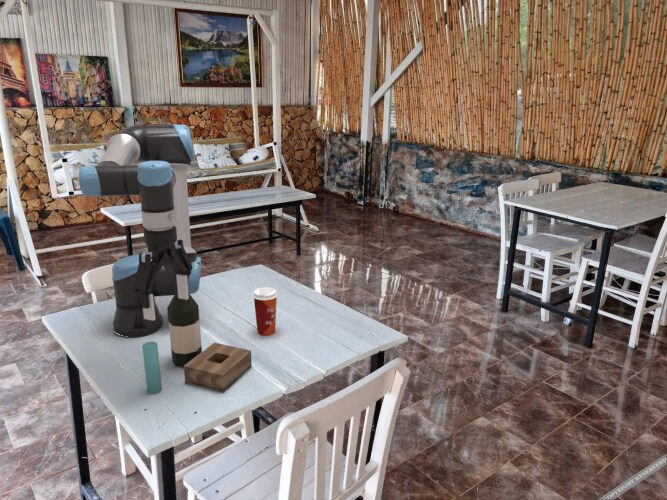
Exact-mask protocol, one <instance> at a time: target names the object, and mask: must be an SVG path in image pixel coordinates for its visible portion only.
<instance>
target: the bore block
mask: <svg viewBox="0 0 667 500" xmlns="http://www.w3.org/2000/svg"><path fill="white" fill-rule="evenodd" d="M252 363H253V362H252V350H250V349H245V348H241V347H237V346H231V345H227V344H224V343H223V344H222V343H219V342H213V343H212V344H211V345H209V346H208V347H206V348H205V349H204V350H202V352H201V353H200V354H199V355H197V356H196V357H195V358H193V359H192V360H191V361H190V362H188V363H187V364H186V365H184V367H183V373H184V382H185V383H186V384H188V385H193V386H196V387H201V388H205V389H209V390H213V391H216V392H220V393H222V394H223V393H225V392H227V390H228V389H229V388H230V387H231V386H232V385H234V384H235V383H236V382H237V381H238V380H239V379H240V378H241V377H242V376H243V375H244V374H245V373H247V371H249V370H250V369H251V367H252Z"/></svg>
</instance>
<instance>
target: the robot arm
mask: <svg viewBox="0 0 667 500" xmlns="http://www.w3.org/2000/svg"><path fill="white" fill-rule="evenodd" d="M195 161H196V156H195V151H194V144H193V140H192V135H191V130H190V128H189V126H187V125H186V124H178V123H177V124H175V123H168V124H167V123H165V124H134V125H130V126H128V127H125V128H122V129H121V130H119V131H117V132H115V133H114V134H113V135H112V136H111V137H110V138H109V139H108V141H107V142H106V150H105V152H104V153H103V155H102V157H101V158H100V160H99V161H98V163H97V164H96V165H94V164H91V165H86V166H85V165H84V166H81V167H80V168H79V172H78V183H79V187H80V191H81V193H82V195H84V196H85V197H97V198H101V197H119V196H121V197H123V196H139V198H140V207H141V211H140V213H141V220H142V227H143V239H144V244H146V246H147V247H148V250H147V252H145V253H144V252H140V253H139V254H133V255H129V256H125V257H123V258H121V259H119V260H117V261H116V262H114V264H113V265H112V267H111V269H112V270H111V272H112V273H111V274H112V277H111V280H112V285H113V291H114V298H115V306H116V309H115V312H114V318H113V322H112V329H113V330H114V331H115V332H116V333H118V334H120V335H123V336H128V337H127V338H141V337H146V336H148V335H151V334H154V333H156V332H158V331H159V330H161V328H162V327H163V325H164V319H163V316H162V314H161V312H160V309H159V308H158V305H157V303H156V298H157V297H166V296H167V297H168V296H174V295H175V285H174V273H173V267H174V268H175V269H176V271H177V272H178V273H180V274H177V275H176V276H177V288H178V298H180V299H186V300H187V299H189V295H188V293H189V294H190V295H192V294H196V293H197V292H198V291H199V290H200V283H201V272H202V271H201V270H202V258H201V257H199V256H197V251H196V250H195V249H194V248H193V247H192V241H191V239H192V238H191V227H190V226H191V223H190V209H189V193H188V192H189V191H188V171H189V170H190V169H191V168H192V163H193V162H195ZM135 163H138V164H135ZM114 331H113V332H114ZM140 336H141V337H140Z"/></svg>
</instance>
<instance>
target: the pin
mask: <svg viewBox="0 0 667 500" xmlns="http://www.w3.org/2000/svg"><path fill="white" fill-rule="evenodd" d="M141 347H142V356H143V365H144V366H143V367H144V373H145V381H146V382H145V383H146V391H147V393H148V394H149V393H150V394H149V395H156V394H160V393H161V391H163V387H162V386H163V385H162V377H161V367H160V354H159V348H158V347H159V346H158V343H157V342H155V341H147V342H145V343H143V344H142V345H141Z"/></svg>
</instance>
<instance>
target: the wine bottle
mask: <svg viewBox="0 0 667 500" xmlns="http://www.w3.org/2000/svg"><path fill="white" fill-rule="evenodd" d="M173 273H174V285H175V295H172V298H171V300H170V302H169V304H168V306H166V307H167V309H166V310H167V319H168V331H169V340H170V351H171V361H172V363H173V364H174V365H175V367H180V368H184V365H186V364H187V363H188V362H190V361H191V360H192V359H193V358H195V357H196V356H197V355H199V354H200V353H201V352H203V350H202V347H203V346H202V335H201V322H200V321H201V320H200V309H199V307H200V306H199V304H198V303H197V302H196V300H195V299H194V298H193V296H192V294H189V293H188V295H189V299H187V300H186V299H180V298H178V288H177V276H176V275H177V274H180V273H178V272H177V271H176V269H175V268H174V267H173Z"/></svg>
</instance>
